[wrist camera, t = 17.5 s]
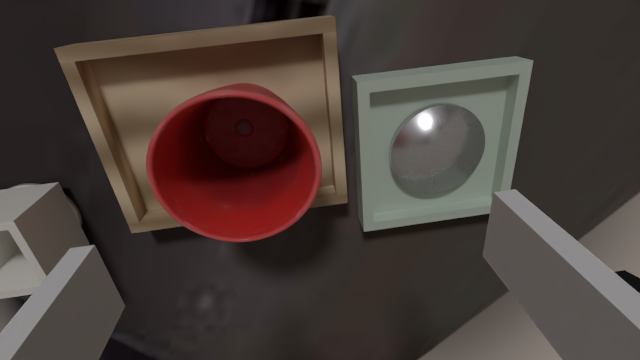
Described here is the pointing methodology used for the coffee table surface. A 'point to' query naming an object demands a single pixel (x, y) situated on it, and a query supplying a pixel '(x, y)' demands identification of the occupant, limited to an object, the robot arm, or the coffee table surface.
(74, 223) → the white faceted planter
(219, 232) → the flower pot
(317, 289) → the coffee table surface
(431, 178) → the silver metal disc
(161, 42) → the wooden tray
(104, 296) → the robot arm
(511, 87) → the pale green square tray
